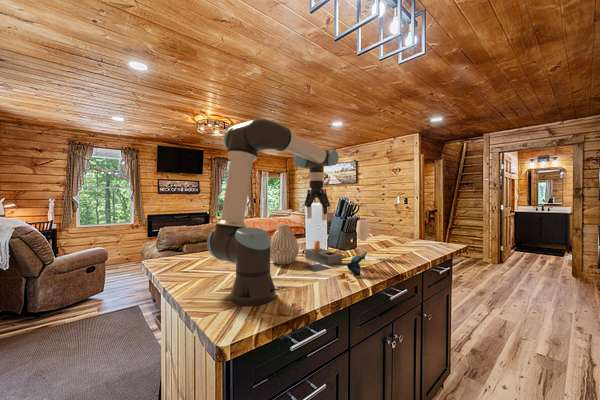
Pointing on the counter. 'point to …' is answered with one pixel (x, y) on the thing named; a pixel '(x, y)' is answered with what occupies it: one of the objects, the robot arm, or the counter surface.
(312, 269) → the mat
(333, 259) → the hole block
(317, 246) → the peg
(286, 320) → the counter surface
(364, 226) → the cup
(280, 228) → the vase
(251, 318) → the counter surface
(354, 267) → the fish
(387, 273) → the counter surface
